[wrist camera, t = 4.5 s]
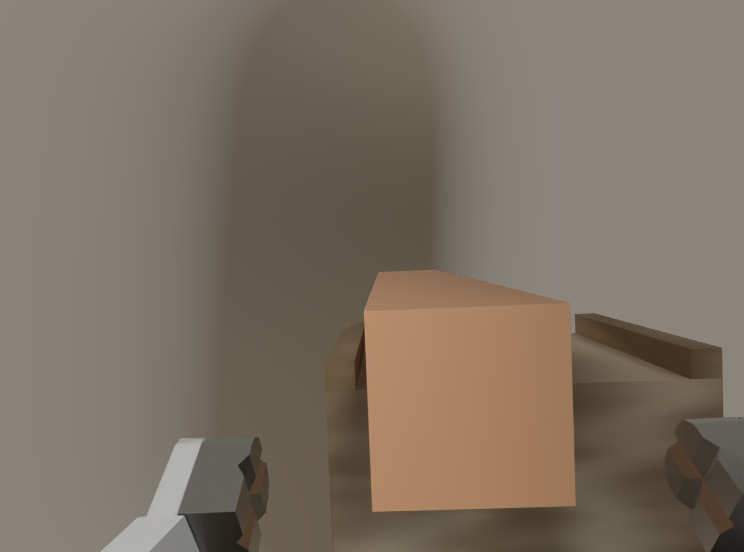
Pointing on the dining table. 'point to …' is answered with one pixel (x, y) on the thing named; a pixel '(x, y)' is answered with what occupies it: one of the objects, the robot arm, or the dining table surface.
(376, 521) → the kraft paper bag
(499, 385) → the bar
